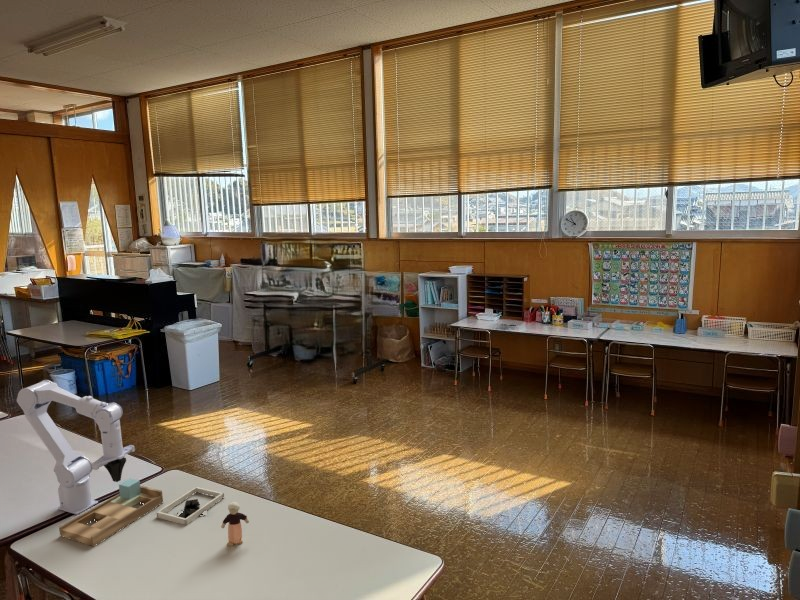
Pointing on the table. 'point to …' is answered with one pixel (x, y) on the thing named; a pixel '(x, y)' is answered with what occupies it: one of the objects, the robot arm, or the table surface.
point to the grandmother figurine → (234, 524)
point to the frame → (190, 518)
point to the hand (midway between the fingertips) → (116, 480)
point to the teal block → (129, 488)
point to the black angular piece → (190, 505)
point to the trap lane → (110, 516)
